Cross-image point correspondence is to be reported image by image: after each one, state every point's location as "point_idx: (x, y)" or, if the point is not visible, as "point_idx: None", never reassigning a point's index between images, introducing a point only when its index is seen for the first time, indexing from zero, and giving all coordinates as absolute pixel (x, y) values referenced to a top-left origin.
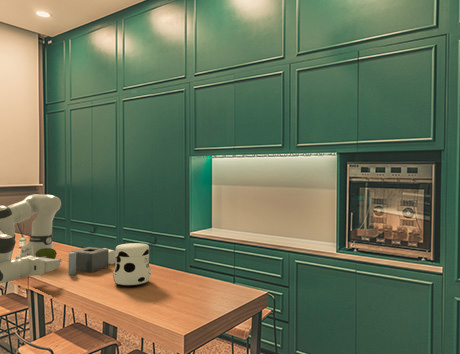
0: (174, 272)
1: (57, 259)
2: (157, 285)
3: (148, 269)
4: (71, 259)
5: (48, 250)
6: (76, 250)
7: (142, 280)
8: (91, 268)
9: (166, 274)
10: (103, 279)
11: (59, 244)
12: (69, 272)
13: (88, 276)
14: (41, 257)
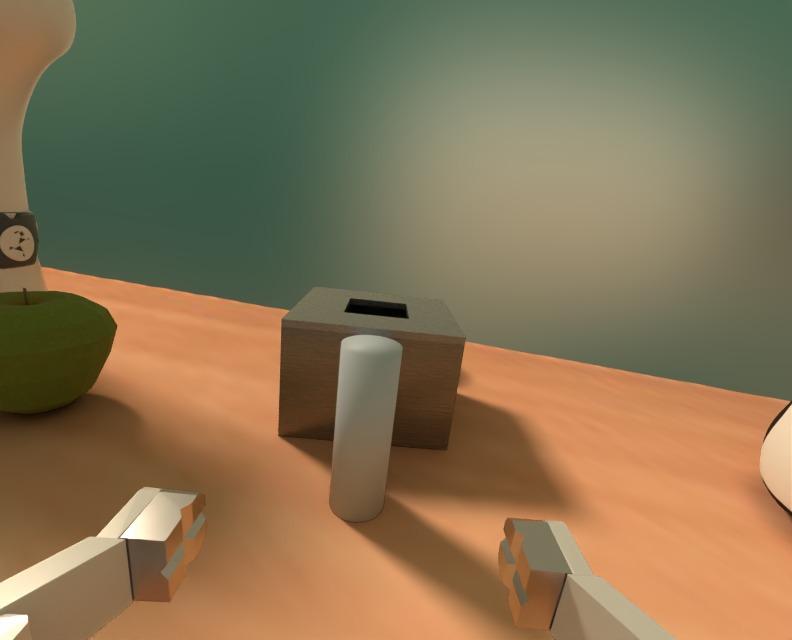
0: (714, 393)
1: (617, 604)
2: None
3: None
4: (383, 405)
5: (53, 309)
6: (301, 311)
7: None
8: (448, 428)
9: (734, 411)
10: (673, 538)
11: (46, 269)
12: (356, 505)
13: (514, 512)
14: (98, 558)
